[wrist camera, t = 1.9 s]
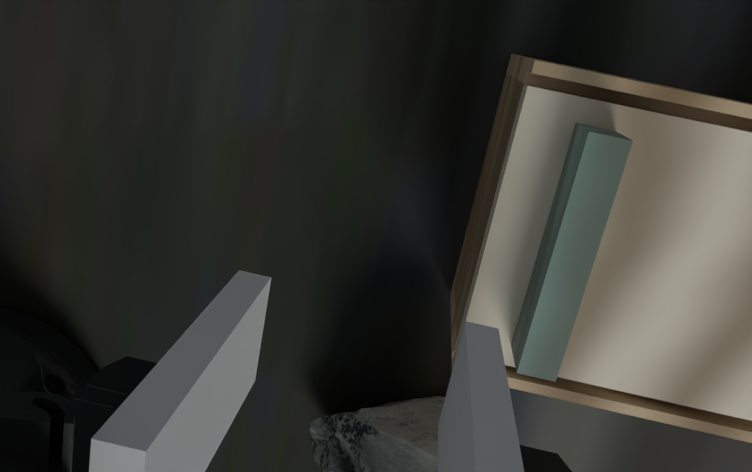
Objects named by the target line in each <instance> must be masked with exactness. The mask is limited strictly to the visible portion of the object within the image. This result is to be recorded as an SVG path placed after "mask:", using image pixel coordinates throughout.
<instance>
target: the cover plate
mask: <svg viewBox="0 0 752 472" xmlns="http://www.w3.org/2000/svg"><path fill="white" fill-rule="evenodd" d="M465 321H467V322H471V323H476V324H480V325H485V326H489V327H494V328H498V329H499V335H500V340H501V346H502V351H503V357H504V362H505V365H507V366H511V367H516V372H517V373H518V374H523V375H527V376H531V377H536V378H540V379H545V380H549V381H554V382H556V379H557V377H560V378H564V379H569V380H573V381H578V382H582V383H586V384H591V385H595V386H600V387H604V388H608V389H613V390H617V391H622V392H626V393H631V394H635V395H639V396H644V397H648V398H653V399H657V400H662V401H666V402H670V403H675V404H679V405H684V406H688V407H692V408H697V409H701V410H706V411H710V412H715V413H719V414H723V415H728V416H732V417H737V418H741V419H746V420H750V421H752V131H748V130H743V129H738V128H734V127H729V126H724V125H719V124H714V123H710V122H705V121H700V120H695V119H691V118H686V117H681V116H676V115H671V114H667V113H662V112H657V111H652V110H648V109H643V108H638V107H633V106H628V105H624V104H619V103H614V102H609V101H605V100H600V99H595V98H590V97H585V96H581V95H576V94H571V93H566V92H562V91H557V90H552V89H547V88H542V87H538V86H533V85H528V84H524V86H523V90H522V94H521V98H520V101H519V105H518V109H517V113H516V117H515V121H514V124H513V128H512V132H511V136H510V140H509V143H508V147H507V151H506V155H505V159H504V163H503V166H502V170H501V174H500V178H499V182H498V185H497V189H496V193H495V197H494V201H493V205H492V208H491V212H490V216H489V220H488V224H487V227H486V231H485V235H484V239H483V243H482V246H481V250H480V254H479V258H478V262H477V266H476V269H475V273H474V277H473V281H472V285H471V288H470V292H469V296H468V300H467V304H466V308H465V311H464V315H463V319H462V323H461V327H460V330H459V334H458V338H457V342H456V345H457V351H458V347H459V343H460V340H461V336H462V332H463V328H464V325H465Z"/></svg>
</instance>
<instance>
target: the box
mask: <svg viewBox="0 0 752 472" xmlns="http://www.w3.org/2000/svg"><path fill="white" fill-rule="evenodd" d="M524 84H528V85H533V86H538V87H542V88H547V89H552V90H557V91H562V92H566V93H571V94H576V95H581V96H585V97H590V98H595V99H600V100H605V101H609V102H614V103H619V104H624V105H628V106H633V107H638V108H643V109H648V110H652V111H657V112H662V113H667V114H671V115H676V116H681V117H686V118H691V119H695V120H700V121H705V122H710V123H714V124H719V125H724V126H729V127H734V128H738V129H743V130H748V131H752V104H751V103H747V102H742V101H737V100H732V99H727V98H723V97H718V96H713V95H708V94H703V93H699V92H694V91H689V90H684V89H679V88H674V87H670V86H665V85H660V84H655V83H650V82H646V81H641V80H636V79H631V78H626V77H622V76H617V75H612V74H607V73H602V72H597V71H593V70H588V69H583V68H578V67H573V66H569V65H564V64H559V63H554V62H549V61H545V60H540V59H535V58H530V57H525V56H520V55H516V54H511V56H510V60H509V64H508V68H507V72H506V76H505V80H504V84H503V88H502V91H501V95H500V99H499V103H498V107H497V111H496V115H495V119H494V123H493V127H492V131H491V135H490V139H489V143H488V147H487V151H486V155H485V159H484V163H483V167H482V171H481V175H480V179H479V183H478V187H477V191H476V195H475V199H474V202H473V206H472V210H471V214H470V218H469V222H468V226H467V230H466V234H465V238H464V242H463V246H462V250H461V254H460V258H459V262H458V266H457V270H456V274H455V278H454V282H453V286H452V290H451V294H450V307H451V358H452V370H453V366H454V362H455V359H456V355H457V345H456V342H457V338H458V334H459V330H460V327H461V323H462V319H463V315H464V311H465V308H466V304H467V300H468V296H469V292H470V288H471V285H472V281H473V277H474V273H475V269H476V266H477V262H478V258H479V254H480V250H481V246H482V243H483V239H484V235H485V231H486V227H487V224H488V220H489V216H490V212H491V208H492V205H493V201H494V197H495V193H496V189H497V185H498V182H499V178H500V174H501V170H502V166H503V163H504V159H505V155H506V151H507V147H508V143H509V140H510V136H511V132H512V128H513V124H514V121H515V117H516V113H517V109H518V105H519V101H520V98H521V94H522V90H523V86H524ZM505 368H506V373H507V379H508V385H509V388H513V389H517V390H521V391H526V392H530V393H535V394H539V395H543V396H548V397H552V398H557V399H561V400H565V401H570V402H574V403H579V404H583V405H587V406H592V407H596V408H601V409H605V410H609V411H614V412H618V413H623V414H627V415H631V416H636V417H640V418H645V419H649V420H653V421H658V422H662V423H667V424H671V425H675V426H680V427H684V428H689V429H693V430H697V431H702V432H706V433H710V434H715V435H719V436H724V437H728V438H732V439H737V440H741V441H746V442H750V443H752V421H750V420H746V419H741V418H737V417H732V416H728V415H723V414H719V413H715V412H710V411H706V410H701V409H697V408H692V407H688V406H684V405H679V404H675V403H670V402H666V401H662V400H657V399H653V398H648V397H644V396H639V395H635V394H631V393H626V392H622V391H617V390H613V389H608V388H604V387H600V386H595V385H591V384H586V383H582V382H578V381H573V380H569V379H564V378H560V377H557V379H556V382H554V381H549V380H545V379H540V378H536V377H531V376H527V375H523V374H518V373H517V372H516V367H511V366H507V365H505Z"/></svg>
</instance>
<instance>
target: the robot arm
mask: <svg viewBox="0 0 752 472" xmlns="http://www.w3.org/2000/svg"><path fill="white" fill-rule="evenodd" d="M270 283H271V277H266V276H262V275H257V274H253V273H248V272H244V271H240V270H239V271H238V272H237V273H236V275H235V276H234V277H233V278H232V279H231V280H230V281H229V283H228V284H227V285H226V286H225V287H224V288H223V289H222V291H221V292H220V293H219V294H218V295H217V296H216V297H215V298H214V300H213V301H212V302H211V303H210V304H209V305H208V306H207V308H206V309H205V310H204V311H203V312H202V313H201V314H200V316H199V317H198V318H197V319H196V320H195V321H194V322H193V324H192V325H191V326H190V327H189V328H188V329H187V330H186V331H185V333H184V334H183V335H182V336H181V337H180V338H179V339H178V341H177V342H176V343H175V344H174V345H173V346H172V347H171V349H170V350H169V351H168V352H167V353H166V354H165V355H164V357H163V358H162V359H161V360H160V361H159V362H158V363H154V362H149V361H145V360H141V359H136V358H132V357H128V356H127V357H125V358H123V359H120V360H118V361H116V362H114V363H112V364H109V365H107V366H105V367H103V368H102V369H101V370H100V371H99V372H97V370H96V369H95V367H94V366H93V364H92V363H91V362H90V360H89V359H88V358H87V357H86V355H85V354H84V353H83V352H82V351H81V350H80V349H79V348H78V347H77V346H76V345H75V344H74V343H73V342H72V341H71V340H69V339H68V338H67V337H66V336H65V335H63V334H62V333H60V332H59V331H58V330H56V329H55V328H53V327H52V326H50V325H48V324H46V323H45V322H43V321H41V320H39V319H37V318H35V317H32V316H30V315H27V314H25V313H22V312H19V311H15V310H11V309H7V308H2V307H0V472H205V470H206V469H207V467H208V465H209V463H210V461H211V460H212V458H213V456H214V454H215V452H216V450H217V449H218V447H219V445H220V443H221V441H222V440H223V438H224V436H225V434H226V432H227V431H228V429H229V427H230V425H231V423H232V421H233V420H234V418H235V416H236V414H237V412H238V411H239V409H240V407H241V405H242V403H243V402H244V400H245V398H246V396H247V394H248V392H249V391H250V389H251V387H252V385H253V383H254V382H255V377H256V371H257V365H258V358H259V352H260V346H261V339H262V333H263V327H264V320H265V314H266V308H267V301H268V295H269V289H270ZM438 472H572V471H571V470H570V469H569V468H568V466H567V465H566V464H565V463H564V461H563V460H562V459H561V458H560V456H559V455H558V454H556V453H552V452H548V451H543V450H539V449H535V448H530V447H526V446H522V445H519V440H518V434H517V429H516V423H515V418H514V412H513V407H512V401H511V396H510V390H509V385H508V379H507V373H506V368H505V362H504V357H503V351H502V346H501V340H500V335H499V329H498V328H494V327H489V326H485V325H480V324H476V323H471V322H467V321H465V325H464V328H463V332H462V336H461V340H460V343H459V347H458V351H457V355H456V359H455V362H454V366H453V370H452V374H451V378H450V381H449V385H448V389H447V393H446V397H445V400H444V404H443V408H442V412H441V416H440V419H439V423H438Z"/></svg>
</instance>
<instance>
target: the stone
mask: <svg viewBox="0 0 752 472" xmlns="http://www.w3.org/2000/svg"><path fill="white" fill-rule="evenodd" d="M444 400H445V397H443V396H433V397H428V398H418V399H410V400H404V401H399V402H392V403H388V404H385V405H381V406H376V407H373V408H361V409H360V410H356V411H355V412H344V413H338V414H334V415H330V416H323V417H322V418H318V419H317V420H315V421H313V422H312V423H311V425H310V433H311V438H310V440H311V443H312V445H313V447H314V450H313V454H314V455H313V462H314V463H316V464H317V465H318V466H319V467H321V469H322V470H323V472H438V423H439V419H440V416H441V412H442V408H443V404H444Z"/></svg>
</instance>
